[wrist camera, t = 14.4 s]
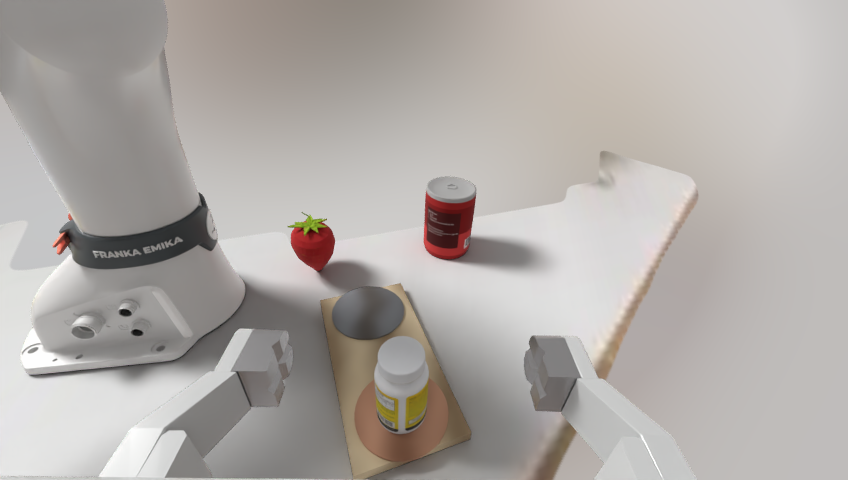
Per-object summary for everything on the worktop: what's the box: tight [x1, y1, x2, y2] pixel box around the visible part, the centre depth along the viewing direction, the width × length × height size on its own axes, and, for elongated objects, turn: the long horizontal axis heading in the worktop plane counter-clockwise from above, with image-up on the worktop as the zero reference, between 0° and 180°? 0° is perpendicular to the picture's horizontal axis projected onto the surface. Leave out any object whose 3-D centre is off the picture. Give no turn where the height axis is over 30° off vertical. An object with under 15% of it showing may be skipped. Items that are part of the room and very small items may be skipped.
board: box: [320, 283, 471, 479], centre depth 40 cm, size 11×23×2 cm, turn 20°
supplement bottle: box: [374, 336, 429, 434], centre depth 32 cm, size 5×5×8 cm
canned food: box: [424, 177, 476, 259], centre depth 57 cm, size 8×8×11 cm
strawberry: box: [288, 215, 335, 271], centre depth 51 cm, size 6×8×10 cm
